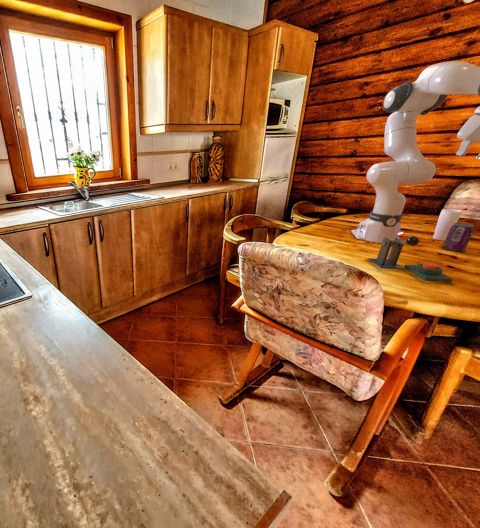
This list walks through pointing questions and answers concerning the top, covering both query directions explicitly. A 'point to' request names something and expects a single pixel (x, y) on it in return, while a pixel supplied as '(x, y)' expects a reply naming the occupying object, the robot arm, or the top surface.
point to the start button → (430, 265)
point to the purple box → (458, 236)
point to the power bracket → (393, 256)
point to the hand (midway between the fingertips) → (469, 157)
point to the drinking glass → (446, 223)
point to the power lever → (406, 241)
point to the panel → (428, 273)
